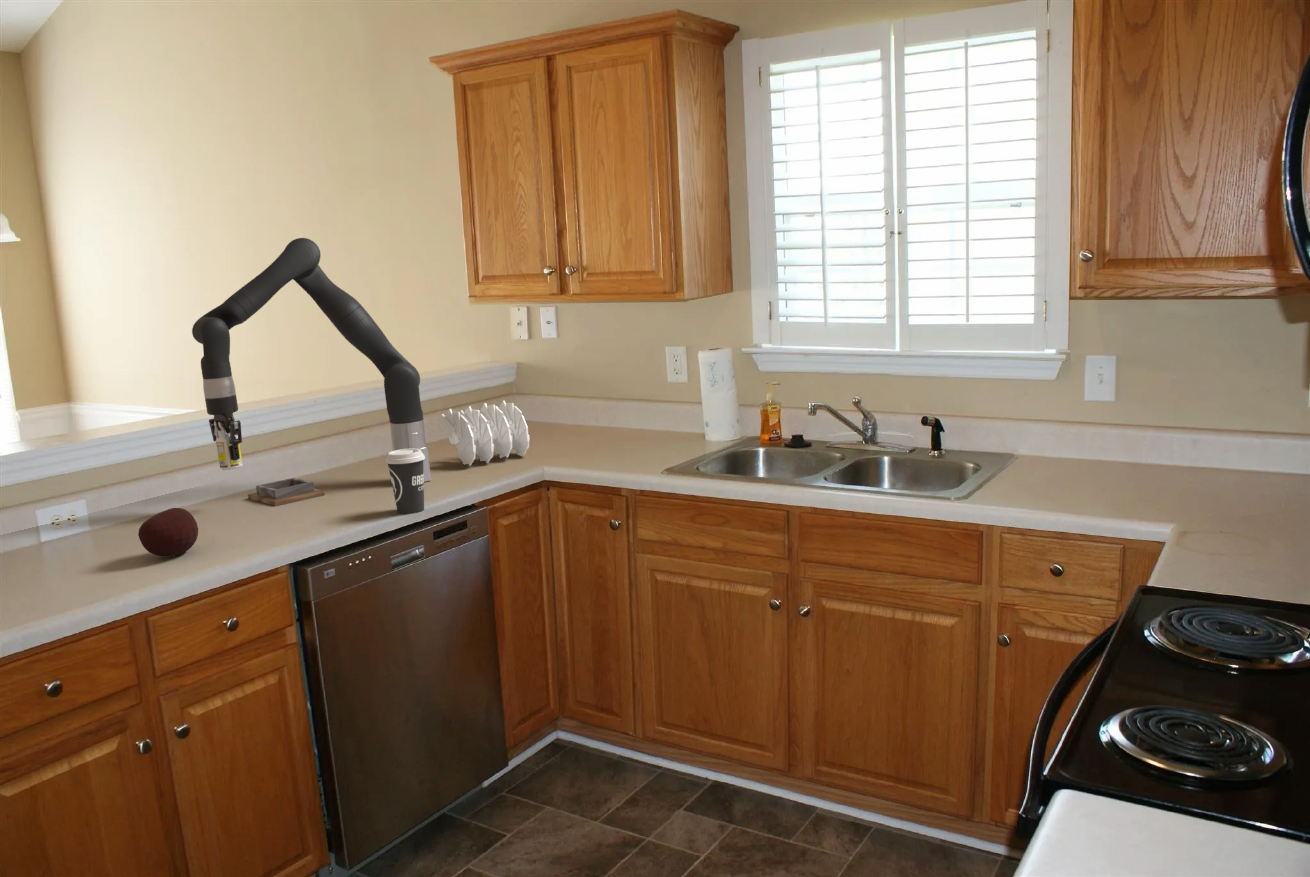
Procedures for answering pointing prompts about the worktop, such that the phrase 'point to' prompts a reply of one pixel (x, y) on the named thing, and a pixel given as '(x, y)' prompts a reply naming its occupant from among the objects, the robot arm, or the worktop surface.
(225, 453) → the supplement bottle
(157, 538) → the potato
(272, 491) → the holder
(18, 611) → the worktop surface
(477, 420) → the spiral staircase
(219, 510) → the worktop surface
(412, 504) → the coffee cup
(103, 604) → the worktop surface
